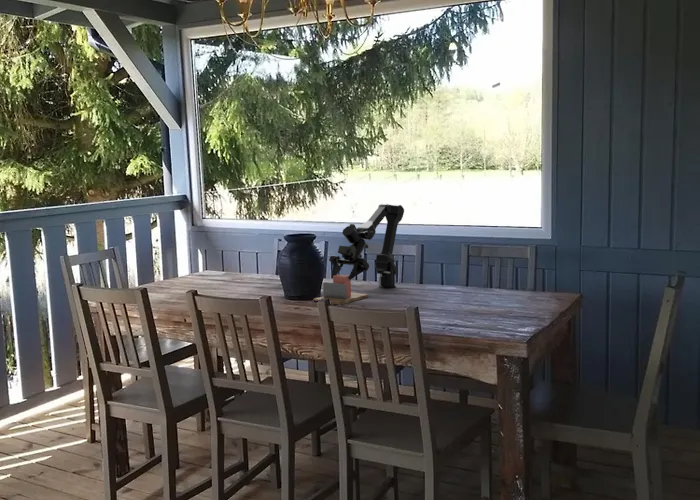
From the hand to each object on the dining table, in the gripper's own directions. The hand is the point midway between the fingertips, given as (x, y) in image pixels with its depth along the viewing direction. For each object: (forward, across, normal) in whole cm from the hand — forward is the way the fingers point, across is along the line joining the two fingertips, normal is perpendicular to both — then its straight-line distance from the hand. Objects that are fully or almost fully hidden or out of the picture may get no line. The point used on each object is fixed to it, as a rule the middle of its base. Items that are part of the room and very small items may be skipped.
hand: (340, 278), depth 302 cm
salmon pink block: (+5, 0, +6) cm, 8 cm away
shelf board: (+6, 0, +7) cm, 9 cm away
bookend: (+9, 0, +3) cm, 9 cm away
